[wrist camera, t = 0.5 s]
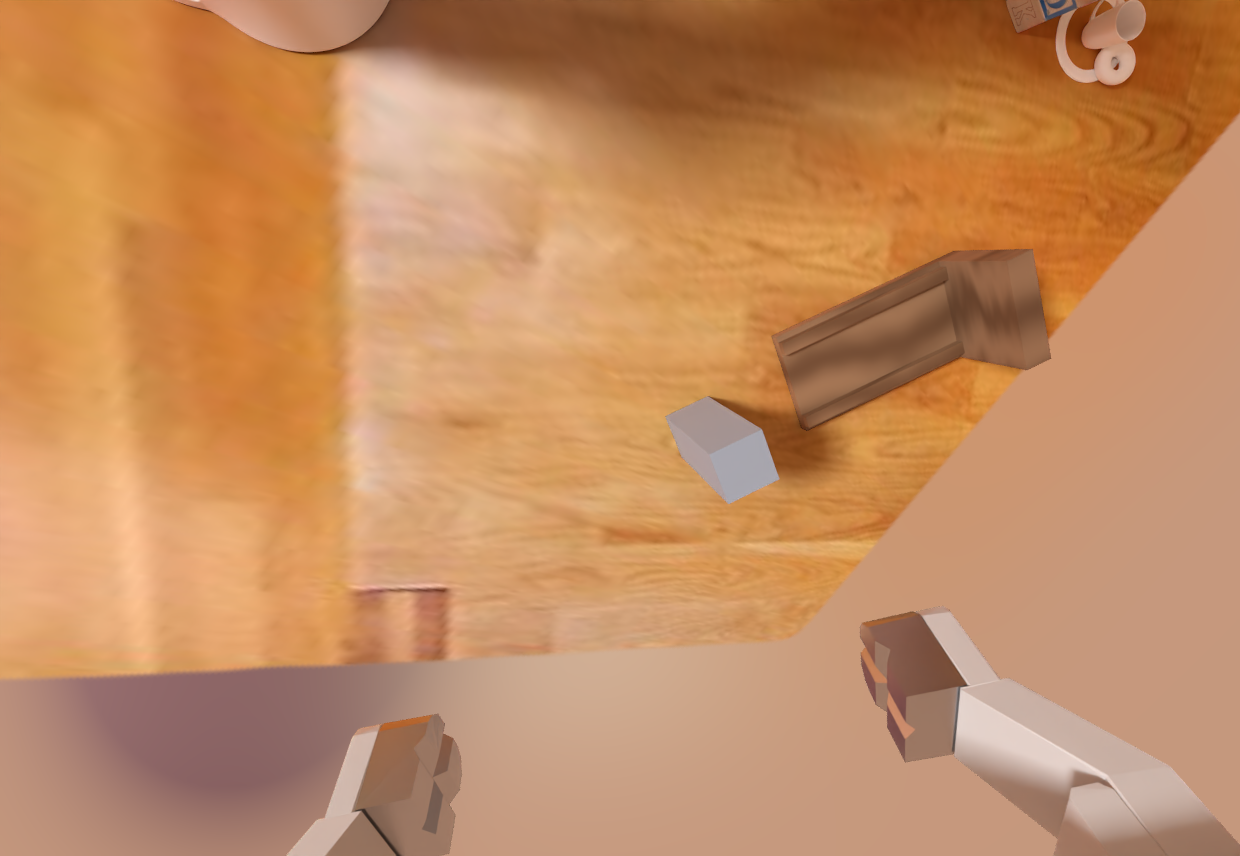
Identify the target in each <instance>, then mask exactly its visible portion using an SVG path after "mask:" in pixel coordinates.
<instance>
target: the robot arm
mask: <svg viewBox="0 0 1240 856" xmlns="http://www.w3.org/2000/svg"><path fill="white" fill-rule="evenodd" d="M175 1H177V2H180V3H183V4H186V5H190V6H193V7H197V8H201V9H206V10H209V11H211V12H213V13H215V14H217V15H219V16H220V17H222V18H224V19H225V20H226V21H228V22H229V23H231V24H232V25H234V26H235V27H236V28H238V29H239V30H241V31H242V32H244V33H246V34H247V35H249V36H251V37H253V38H255V39H257V40H259V41H261V42H263V43H266V44H269V45H271V46H274V47H278V48H281V49H285V50H290V51H297V52H319V51H326V50H331V49H335V48H338V47H341V46H343V45H346V44H348V43H350V42H352V41H353V40H355V39H357V38H358V37H360V36H361V35H363V34H364V33H365V32H366V31H367V30H368V29H369V28H371V27H372V26H373V24H374V23H375V22H376V21H377V20H378V18H379V17H380V16H381V14H382V13H383V11H384V9H385V8H386V6H387V4H388V2H389V0H175ZM860 638H861V640H862V641H863V643H864V645H865V648H864V650H863V651H862V652H861V665H862V669H863V673H864V677H865V681H866V683H867V686H868V688H869V691H870V693H871V695H872V697H873V700H874V701H875V704H876V705H877V706H878V707H880V708H882V709H883V710H885V711H886V712H887V728H888V730H889V732H890V734H891V735H892V738H893V739H894V741H895V743H896V745H897V747H898V749H899V751H900V753H901V755H902V757H903V759H904V761H905V762H910V761H916V760H922V759H928V758H934V757H939V756H945V755H951V754H954V757H955V758H956V759H958V760H959V761H960V762H961V763H963V764H964V765H965V766H967V767H968V768H969V769H970V770H971V771H973V772H974V773H976V774H977V775H978V776H979V777H980V778H982V779H983V780H984V781H985V782H987V783H988V784H989V785H990V786H992V787H993V788H994V789H995V790H997V791H998V792H999V793H1001V794H1002V795H1003V796H1004V797H1006V798H1007V799H1008V800H1009V801H1011V802H1012V803H1013V804H1014V805H1016V806H1017V807H1018V808H1019V809H1021V810H1022V811H1023V812H1024V813H1026V814H1027V815H1028V816H1029V817H1031V818H1032V819H1033V820H1035V821H1036V822H1037V823H1038V824H1039V825H1041V826H1042V827H1043V828H1045V829H1046V830H1047V831H1048V832H1050V833H1051V834H1052V835H1053V836H1055V837H1056V838H1057V839H1058V841H1057V844H1056V848H1055V852H1054V856H1240V845H1239V843H1238V842H1237V841H1236V840H1235V839H1234V838H1233V837H1232V836H1231V834H1230V833H1229V832H1228V831H1227V830H1226V829H1225V828H1224V826H1223V825H1222V824H1221V823H1220V822H1219V821H1218V820H1217V819H1216V817H1215V816H1214V815H1213V814H1212V813H1211V812H1210V811H1209V810H1208V809H1207V808H1206V806H1205V805H1204V804H1203V803H1202V802H1201V801H1200V799H1199V798H1198V797H1197V796H1196V795H1195V794H1194V793H1193V792H1192V790H1191V789H1190V788H1189V787H1188V786H1187V785H1186V784H1185V783H1184V781H1183V780H1182V779H1181V778H1180V777H1179V776H1178V775H1177V774H1176V773H1175V771H1174V770H1173V769H1172V768H1171V767H1170V766H1169V765H1167V764H1165V763H1163V762H1161V761H1159V760H1158V759H1156V758H1154V757H1152V756H1150V755H1148V754H1147V753H1145V752H1143V751H1141V750H1139V749H1138V748H1136V747H1134V746H1132V745H1130V744H1129V743H1127V742H1125V741H1123V740H1121V739H1119V738H1118V737H1116V736H1114V735H1112V734H1110V733H1109V732H1107V731H1105V730H1103V729H1101V728H1099V727H1098V726H1096V725H1094V724H1092V723H1090V722H1089V721H1087V720H1085V719H1083V718H1081V717H1079V716H1078V715H1076V714H1074V713H1072V712H1070V711H1069V710H1067V709H1065V708H1063V707H1061V706H1059V705H1058V704H1056V703H1054V702H1052V701H1050V700H1049V699H1047V698H1045V697H1043V696H1041V695H1039V694H1037V693H1036V692H1034V691H1032V690H1030V689H1029V688H1027V687H1025V686H1023V685H1021V684H1019V683H1018V682H1016V681H1014V680H1012V679H1010V678H1006V679H1000V678H999V677H998V675H997V674H996V672H995V671H994V670H993V668H992V667H991V666H990V664H989V663H988V662H987V660H986V659H985V658H984V656H983V655H982V654H981V652H980V651H979V650H978V648H977V647H976V646H975V644H974V643H973V641H972V640H971V639H970V637H969V636H968V635H967V633H966V632H965V631H964V629H963V628H962V627H961V625H960V624H959V622H958V621H957V620H956V619H955V617H954V616H953V615H952V613H951V612H950V610H949V609H947V608H946V607H944V606H939V607H934V608H930V609H925V610H920V611H916V612H908V613H904V614H899V615H895V616H890V617H886V618H882V619H877V620H873V621H869V622H864V623H862V624H861V626H860ZM444 726H445V723H444V722H443V720H442V719H441V717H440V716H439V714H434V715H429V716H423V717H417V718H412V719H406V720H401V721H396V722H390V723H384V724H379V725H374V726H370V727H364V728H360V729H358V731H357V732H356V733H355V734H354V736H353V737H352V740H351V743H350V745H349V748H348V751H347V754H346V757H345V760H344V763H343V766H342V769H341V772H340V775H339V777H338V780H337V784H336V786H335V789H334V792H333V795H332V798H331V801H330V804H329V807H328V810H327V813H326V816H325V818H321V819H317V820H316V821H315V823H314V824H313V825H312V826H311V827H310V828H309V830H308V831H307V832H306V833H305V834H304V835H303V837H302V838H301V839H300V840H299V841H298V842H297V844H296V845H295V846H294V847H293V848H292V849H291V851H290V852H289V853H288V854H287V855H286V856H441V855H445V854H449V851H450V846H451V839H452V834H453V828H454V821H455V813H454V811H453V810H452V808H451V806H450V803H451V801H452V800H453V798H454V797H455V796H456V794H457V793H458V791H459V790H460V782H461V776H462V770H461V756H460V752H459V749H458V746H457V744H456V742H455V740H454V739H453V738H451V737H449V736H447V735H445V734H443V732H444Z"/></svg>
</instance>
